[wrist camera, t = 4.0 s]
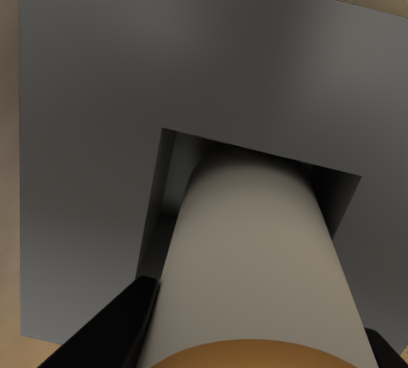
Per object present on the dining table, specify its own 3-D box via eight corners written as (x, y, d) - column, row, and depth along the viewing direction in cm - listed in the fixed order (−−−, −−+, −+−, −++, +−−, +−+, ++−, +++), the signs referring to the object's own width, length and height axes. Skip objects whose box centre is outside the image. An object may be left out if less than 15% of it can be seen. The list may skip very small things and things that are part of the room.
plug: (331, 159, 11) (500, 467, 4) (287, 262, 13) (347, 603, 6) (200, 126, 11) (124, 381, 4) (174, 235, 13) (90, 548, 6)
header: (468, 39, 12) (598, 66, 8) (330, 307, 18) (359, 413, 13) (102, -53, 12) (18, -80, 7) (77, 247, 17) (20, 335, 13)
